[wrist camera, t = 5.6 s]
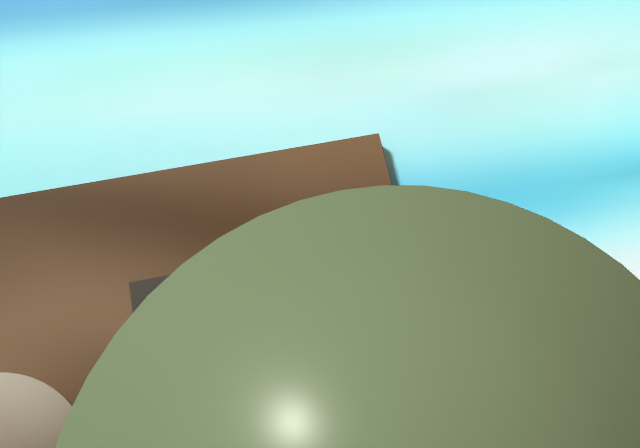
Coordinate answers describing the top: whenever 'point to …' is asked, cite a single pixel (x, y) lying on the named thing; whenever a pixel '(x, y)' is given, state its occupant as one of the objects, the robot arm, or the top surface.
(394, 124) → the top surface
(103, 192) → the picture board
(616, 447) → the ball
